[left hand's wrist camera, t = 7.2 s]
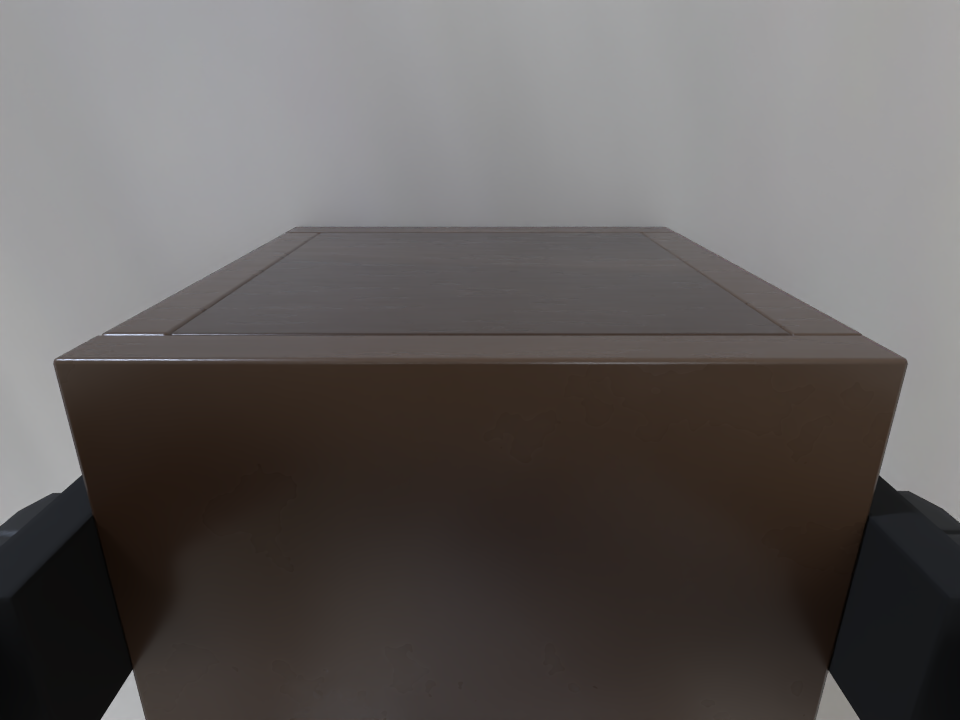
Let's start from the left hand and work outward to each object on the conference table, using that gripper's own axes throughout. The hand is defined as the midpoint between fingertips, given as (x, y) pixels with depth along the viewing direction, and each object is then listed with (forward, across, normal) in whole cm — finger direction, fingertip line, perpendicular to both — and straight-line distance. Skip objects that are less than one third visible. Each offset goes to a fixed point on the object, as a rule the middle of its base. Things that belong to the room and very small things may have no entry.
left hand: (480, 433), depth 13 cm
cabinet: (+5, 0, -6) cm, 8 cm away
